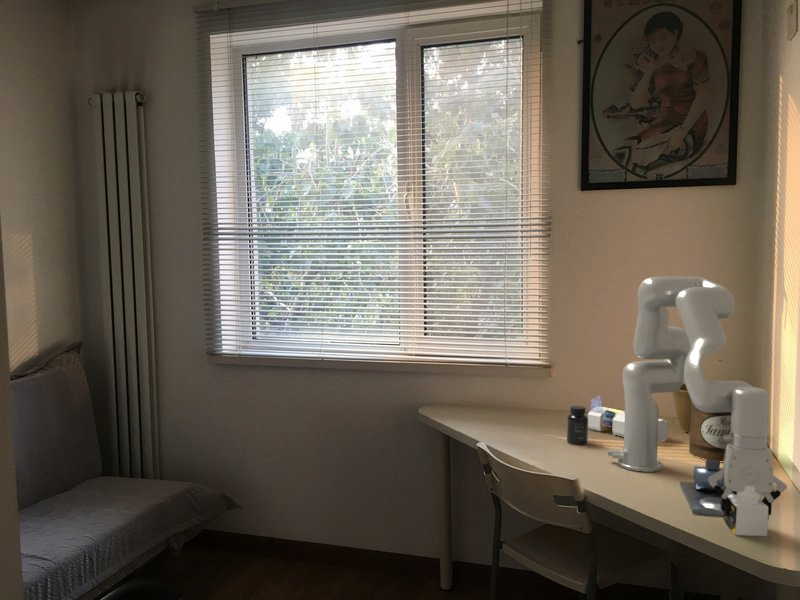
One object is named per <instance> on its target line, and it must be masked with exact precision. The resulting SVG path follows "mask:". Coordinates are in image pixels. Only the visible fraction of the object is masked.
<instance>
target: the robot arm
mask: <svg viewBox="0 0 800 600" xmlns="http://www.w3.org/2000/svg"><path fill="white" fill-rule="evenodd" d="M637 303H638V314H637V318H636V319H637V320H636V326H635V332H634V335H633V336H634V337H633V345H632V348H633V349H632V350H633V353H634V355H636V357H637V358H639V359H642V360H639V361H638V360H637V361H636V360H635V361H632V362H629V363H627V364H626V365H625V366H624V367H623V370H622V372H621V373H622V374H621V378H622V384H623V391H624V411H625V424H624V438H623V446H622V447H621V449H620V448H619V449H618V450H615V449H607V457H609V456H610V457H611V458H614V459H617V464H618V466H620V467H621V468H623V469H626V470H629V471H633V470H634V471H635V472H639V471H642V472H641V473H653V472H654V471H655V472H658V471H661V470H662V469H663V462H661V461H660V460H659V459H658V445H659V443H658V418H659V414H660V411H659V410H660V409H659V406H658V403H657V402H656V401H655V399H654V398H653V395H652V394H657V393H658V394H659V393H661V394H663V393H673V392H675V391H677V390H679V389H680V388H681V386H682V384H683V383H685V384H686V387H687V390H688V393H689V396H690V398H691V401H692V403H693V404H694V406H695V407H696V408H697V409H698V410H700V411H701V412H705V413H717V412H731V431H730V433H729V434H727V435H724V440H726V441H729V442H730V444H727V447H726V451H725V455H724V461H723V462H722V467H721V468H722V470H721V471H719V472H717V473H715V474H713V475H712V476H710V477H708V481H709V483H710V484H711V485H712V487H713V488H714V489H715V491H716V492H717V493H718V494H719V495H720V496H721V506H720V507H721V511H723V512H724V514H725V516H729V504H730V500H729V498H728V496H729V495H730V493H731V492H732V491H738V492H742V491H744V490H745V486H753V487H755V492H756V493H761V495H763V497H762V498H761V501H762V502H763V503H764V504H766V505H767V506H768V520H769V517H770V516H772V505H773V504H772V503H774V501H776V500H777V499H778V498H779V497H780V496H781V494H782V493H784V492H785V490H786V489H788V485H787V484H786V483H785V482H783V481H782V480H781V479H780V478H778V477H777V476H776V475H774V463H773V461H774V460H773V455H772V450H771V448H769V447H768V435H769V434H768V431H769V413H770V411H769V410H770V409H769V407H770V395H769V392H768V391H767V390H766V389H763V388H760V387H755V386H753V385H751V384H750V383H748V382H746V381H743V380H739V379H738V380H737V379H735V380H708V379H707V377H706V375H705V372H704V368H703V361H704V357H705V356H707V355H710V354H712V353H714V352H716V351H717V350H719V349H721V348H722V347H723V346H724V345H725V344H726V341H727V335H726V334H725V331H724V329H723V327H722V324H721V321H720V320H725V319H728V318H729V317H732V315H733V314H734V312H735V308H736V302H735V298H734V296H733V294H732V293H731V291H730V290H728V289H727V288H726V287H724V286H723V285H721V284H719V283H716V282H714V281H711V280H710V279H706V278H705V277H701V276H693V275H692V276H689V275H688V276H687V275H686V276H685V275H684V276H683V275H682V276H681V275H679V276H676V275H675V276H674V275H673V276H672V275H667V276H661V275H660V276H651V277H647V278H645V279H643V281H641V282H640V285H639V286H638V291H637ZM668 308H676V309H677V313H678V315H679V318H680V321H681V323H682V326H683V328H682V327H679V326H669V324H670V312H669V309H668ZM721 478H722V482H723V483H724V486H723V487H722V488H720V487H719V485H718V484H717V483H716V482H717V481H718V480H719V479H721ZM774 485H777V486H776V488H774Z"/></svg>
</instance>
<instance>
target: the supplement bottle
mask: <svg viewBox="0 0 800 600" xmlns="http://www.w3.org/2000/svg"><path fill="white" fill-rule="evenodd" d="M569 413H570V414H568V415H567V419H566V442H567V443H568V444H570V445H575V446H585V445H587V444H588V442H589V441H588V440H589V427H588V415H586V413H587V411H586V407H585V406H582V405H573V406H571V405H570V411H569Z"/></svg>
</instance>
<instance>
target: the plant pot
mask: <svg viewBox="0 0 800 600" xmlns="http://www.w3.org/2000/svg"><path fill="white" fill-rule="evenodd" d="M672 396H673V398H672V399H673V404H674V408H675V412H676V415H677V419H678V423H679V425H680V428H681V430H684V431H686V432H690V425H691V410H692V401H691V398H690V396H689V393H688V390H687V387H686V384H685V382H683V384H682V386H681V388H680V389H679V390H677V391H675V392H672Z"/></svg>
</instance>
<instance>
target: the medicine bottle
mask: <svg viewBox="0 0 800 600" xmlns="http://www.w3.org/2000/svg"><path fill="white" fill-rule="evenodd" d="M728 498H729V500H730V504H729V516H725V514H724V516H723V518H722V519H723V521H722V523H723V524H724V525H725V526H726V527H727V528H728V529H729V531H731V532H732V534H733V535H734V536H742V537H743V536H745V537H746V536H747V537H768V528H769V527H768V525H769V519H768V506H767V505H766V504H764V503H763V502H762V493H756V492H755V487H753V486H745V490H744V491H742V492H738V491H732V495H731V494H730V495H729V496H728Z"/></svg>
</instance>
